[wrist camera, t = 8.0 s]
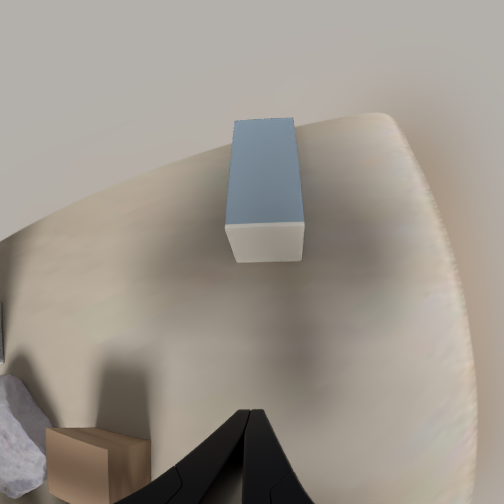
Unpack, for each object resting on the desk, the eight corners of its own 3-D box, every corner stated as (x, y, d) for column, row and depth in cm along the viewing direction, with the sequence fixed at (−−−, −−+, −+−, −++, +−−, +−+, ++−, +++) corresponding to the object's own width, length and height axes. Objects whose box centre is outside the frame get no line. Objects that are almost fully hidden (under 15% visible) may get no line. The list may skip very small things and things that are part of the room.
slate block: (304, 225, 18) (293, 117, 23) (224, 228, 19) (234, 120, 24) (301, 261, 23) (293, 158, 28) (236, 262, 23) (242, 160, 28)
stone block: (83, 446, 19) (18, 367, 20) (56, 460, 14) (-14, 365, 16) (40, 501, 15) (-17, 431, 17) (15, 515, 11) (-44, 435, 13)
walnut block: (151, 498, 15) (111, 521, 10) (96, 481, 16) (48, 492, 10) (151, 440, 17) (107, 449, 12) (95, 427, 18) (46, 427, 13)
